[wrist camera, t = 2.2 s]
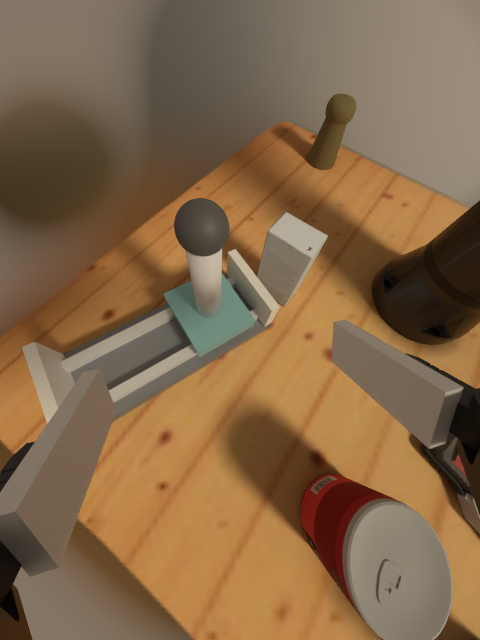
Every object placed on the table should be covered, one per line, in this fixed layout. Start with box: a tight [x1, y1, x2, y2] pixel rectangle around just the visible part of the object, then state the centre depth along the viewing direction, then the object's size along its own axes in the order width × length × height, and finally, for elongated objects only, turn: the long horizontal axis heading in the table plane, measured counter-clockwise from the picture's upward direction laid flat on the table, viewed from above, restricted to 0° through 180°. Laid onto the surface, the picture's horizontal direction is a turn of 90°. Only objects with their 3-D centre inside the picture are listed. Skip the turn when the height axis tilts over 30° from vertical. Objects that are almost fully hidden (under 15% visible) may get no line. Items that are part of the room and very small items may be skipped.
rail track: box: [22, 249, 280, 424], centre depth 30 cm, size 26×10×7 cm, turn 123°
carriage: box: [163, 198, 255, 357], centre depth 23 cm, size 8×9×17 cm
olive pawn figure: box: [307, 94, 356, 170], centre depth 47 cm, size 6×6×11 cm
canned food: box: [300, 474, 452, 640], centre depth 22 cm, size 8×8×11 cm
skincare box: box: [257, 212, 328, 307], centre depth 32 cm, size 6×4×12 cm
